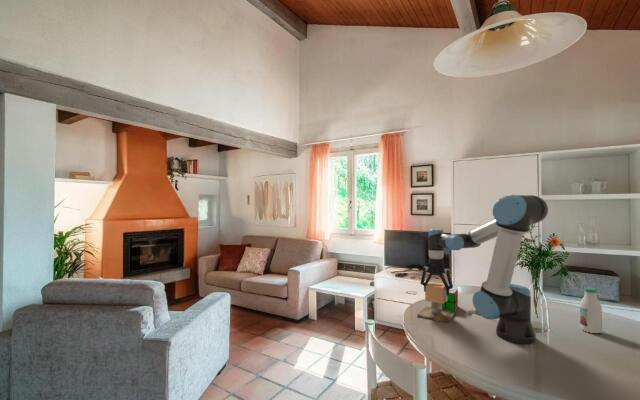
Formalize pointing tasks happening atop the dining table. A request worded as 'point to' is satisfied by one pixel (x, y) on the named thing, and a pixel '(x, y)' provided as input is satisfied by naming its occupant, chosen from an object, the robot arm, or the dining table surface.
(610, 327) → the dining table surface
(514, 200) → the robot arm
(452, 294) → the puzzle cube
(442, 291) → the orange hollow rectangular tube
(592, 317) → the milk bottle
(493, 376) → the dining table surface
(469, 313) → the folded banknote origami
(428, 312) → the key base
